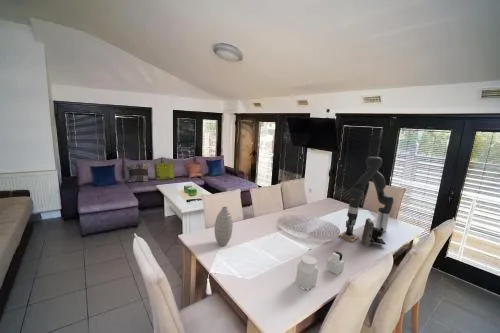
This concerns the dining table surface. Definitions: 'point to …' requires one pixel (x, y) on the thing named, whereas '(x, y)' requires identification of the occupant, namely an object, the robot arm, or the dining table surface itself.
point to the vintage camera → (371, 233)
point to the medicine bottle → (336, 263)
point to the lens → (350, 230)
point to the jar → (307, 272)
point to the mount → (348, 237)
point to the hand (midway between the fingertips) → (349, 230)
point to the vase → (223, 227)
